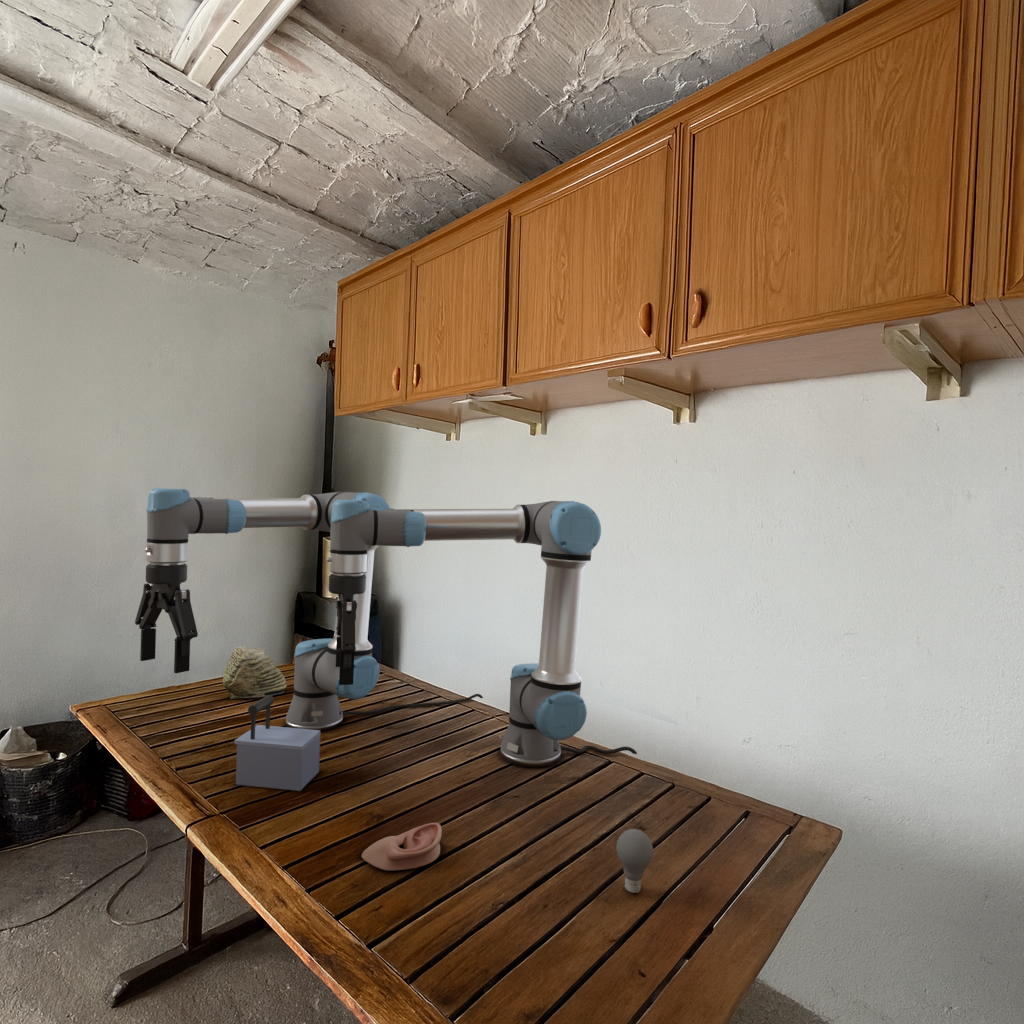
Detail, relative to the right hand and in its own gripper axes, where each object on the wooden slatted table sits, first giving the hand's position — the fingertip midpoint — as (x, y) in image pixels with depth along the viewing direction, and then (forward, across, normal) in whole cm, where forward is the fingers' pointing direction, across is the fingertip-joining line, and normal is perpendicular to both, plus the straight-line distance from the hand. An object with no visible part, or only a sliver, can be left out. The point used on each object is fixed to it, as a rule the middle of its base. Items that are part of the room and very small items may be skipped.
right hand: (343, 675), depth 132 cm
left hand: (-1, -10, -35) cm, 37 cm away
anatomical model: (+26, +24, +10) cm, 37 cm away
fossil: (+26, -76, -22) cm, 83 cm away
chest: (+26, -13, -12) cm, 32 cm away
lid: (+18, -13, -13) cm, 26 cm away
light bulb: (+26, +44, +45) cm, 68 cm away
